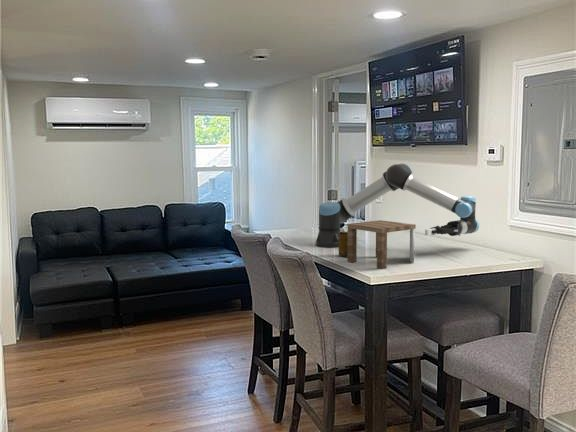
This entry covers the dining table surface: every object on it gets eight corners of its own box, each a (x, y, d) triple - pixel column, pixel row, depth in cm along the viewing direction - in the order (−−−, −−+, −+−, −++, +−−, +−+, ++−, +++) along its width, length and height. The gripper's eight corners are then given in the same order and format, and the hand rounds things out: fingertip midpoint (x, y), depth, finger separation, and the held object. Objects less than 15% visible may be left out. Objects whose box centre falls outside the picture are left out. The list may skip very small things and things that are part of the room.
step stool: (381, 269, 243) (382, 228, 241) (347, 261, 260) (347, 223, 258) (414, 263, 256) (415, 224, 254) (379, 256, 273) (380, 220, 271)
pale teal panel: (409, 262, 255) (410, 230, 254) (409, 256, 270) (410, 226, 268) (413, 262, 255) (414, 230, 253) (414, 256, 269) (414, 226, 268)
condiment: (343, 254, 280) (343, 230, 279) (357, 256, 275) (357, 232, 273) (334, 256, 275) (334, 232, 274) (348, 258, 269) (348, 233, 268)
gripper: (467, 236, 277) (437, 241, 263) (445, 234, 287) (415, 238, 273) (467, 221, 276) (437, 225, 262) (445, 219, 286) (415, 223, 272)
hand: (426, 232), depth 268 cm, fingers closed
